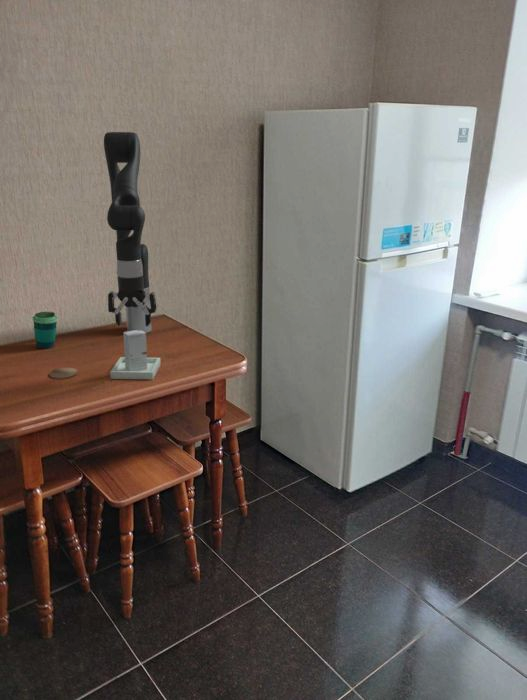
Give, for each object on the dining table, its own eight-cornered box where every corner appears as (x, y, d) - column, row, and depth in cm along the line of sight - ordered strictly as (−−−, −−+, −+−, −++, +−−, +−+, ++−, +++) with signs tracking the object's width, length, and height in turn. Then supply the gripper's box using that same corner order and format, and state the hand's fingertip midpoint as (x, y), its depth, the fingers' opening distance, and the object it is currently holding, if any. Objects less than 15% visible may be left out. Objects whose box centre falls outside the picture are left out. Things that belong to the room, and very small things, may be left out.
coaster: (55, 369, 181) (55, 367, 181) (80, 369, 181) (80, 367, 181) (46, 378, 173) (45, 376, 173) (72, 379, 173) (72, 377, 173)
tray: (121, 363, 186) (120, 357, 186) (160, 363, 186) (160, 357, 186) (110, 378, 174) (110, 371, 173) (152, 379, 174) (152, 372, 173)
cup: (46, 341, 205) (42, 309, 201) (65, 344, 203) (61, 312, 199) (31, 348, 198) (26, 315, 194) (50, 351, 196) (46, 318, 192)
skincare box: (129, 372, 177) (127, 335, 173) (124, 368, 180) (122, 331, 176) (148, 369, 180) (146, 332, 176) (143, 364, 183) (140, 328, 179)
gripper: (156, 271, 173) (158, 322, 179) (109, 270, 173) (113, 321, 179) (151, 277, 166) (154, 329, 172) (102, 276, 166) (107, 328, 172)
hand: (133, 325), depth 175 cm, fingers open, 8 cm apart
